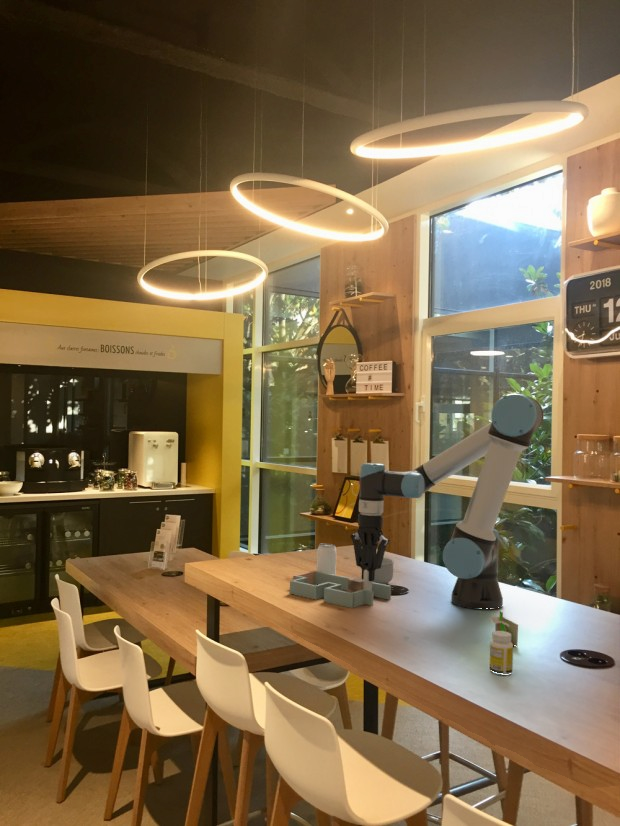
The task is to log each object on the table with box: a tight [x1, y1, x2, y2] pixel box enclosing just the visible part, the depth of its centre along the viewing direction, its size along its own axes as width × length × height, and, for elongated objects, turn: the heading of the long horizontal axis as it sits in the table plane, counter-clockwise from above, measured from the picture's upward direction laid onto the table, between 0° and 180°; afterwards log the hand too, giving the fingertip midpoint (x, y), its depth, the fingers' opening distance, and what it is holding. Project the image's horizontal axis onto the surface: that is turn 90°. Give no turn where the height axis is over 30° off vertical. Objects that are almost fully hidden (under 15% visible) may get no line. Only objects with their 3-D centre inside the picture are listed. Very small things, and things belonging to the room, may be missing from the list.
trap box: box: [289, 570, 392, 609], centre depth 214 cm, size 30×18×4 cm, turn 53°
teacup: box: [372, 557, 395, 585], centre depth 234 cm, size 14×11×8 cm
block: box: [347, 576, 363, 593], centre depth 215 cm, size 5×5×5 cm
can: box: [315, 543, 337, 575], centre depth 234 cm, size 6×6×12 cm
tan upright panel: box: [489, 611, 519, 647], centre depth 172 cm, size 4×7×8 cm, turn 15°
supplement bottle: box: [489, 630, 514, 674], centre depth 151 cm, size 5×5×8 cm
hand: (367, 591), depth 213 cm, fingers closed
